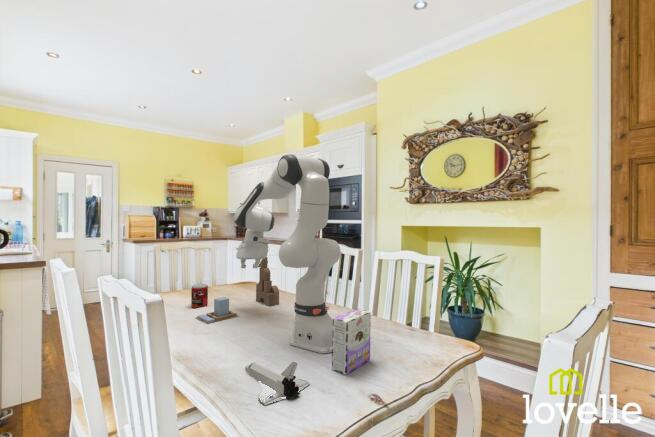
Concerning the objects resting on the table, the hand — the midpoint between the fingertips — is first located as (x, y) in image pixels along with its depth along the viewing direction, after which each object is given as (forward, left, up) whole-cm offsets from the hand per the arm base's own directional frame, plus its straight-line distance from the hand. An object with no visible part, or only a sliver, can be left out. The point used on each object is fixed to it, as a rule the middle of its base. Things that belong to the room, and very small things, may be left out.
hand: (248, 268), depth 158 cm
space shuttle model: (-59, +32, -23) cm, 71 cm away
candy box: (-69, +6, -23) cm, 73 cm away
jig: (+3, +14, -22) cm, 27 cm away
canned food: (+29, +10, -23) cm, 38 cm away
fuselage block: (+3, +12, -21) cm, 25 cm away
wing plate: (+3, +20, -21) cm, 29 cm away
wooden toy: (+12, -20, -23) cm, 32 cm away
